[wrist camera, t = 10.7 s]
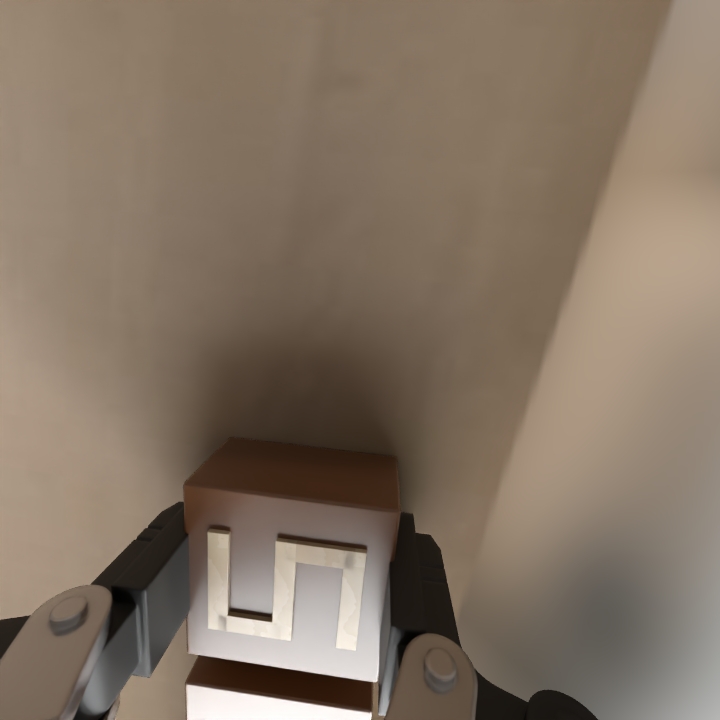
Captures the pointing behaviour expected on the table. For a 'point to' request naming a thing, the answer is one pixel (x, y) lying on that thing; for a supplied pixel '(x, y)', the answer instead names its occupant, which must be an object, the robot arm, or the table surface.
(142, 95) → the table surface
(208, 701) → the tile
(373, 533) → the tile
